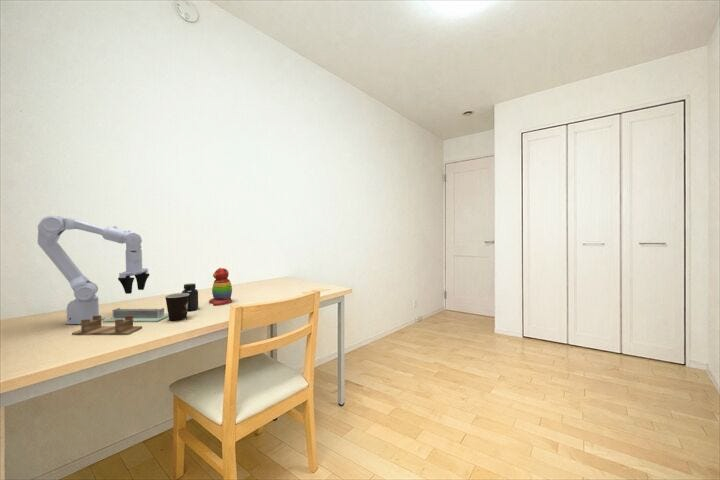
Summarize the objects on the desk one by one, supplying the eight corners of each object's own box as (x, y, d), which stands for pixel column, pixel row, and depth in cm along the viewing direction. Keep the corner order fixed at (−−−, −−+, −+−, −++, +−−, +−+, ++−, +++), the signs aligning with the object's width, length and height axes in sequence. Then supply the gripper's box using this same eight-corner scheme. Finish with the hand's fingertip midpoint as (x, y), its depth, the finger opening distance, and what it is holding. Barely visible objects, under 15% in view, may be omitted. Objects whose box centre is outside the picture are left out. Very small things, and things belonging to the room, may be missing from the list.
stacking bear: (207, 302, 156) (207, 268, 155) (228, 299, 163) (227, 266, 162) (214, 306, 148) (214, 270, 147) (235, 302, 155) (235, 268, 154)
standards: (71, 334, 109) (71, 320, 108) (89, 328, 116) (88, 314, 115) (128, 334, 109) (127, 320, 109) (142, 328, 116) (141, 314, 116)
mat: (102, 322, 123) (102, 320, 123) (121, 315, 133) (121, 313, 133) (157, 322, 123) (157, 320, 123) (172, 315, 133) (172, 313, 133)
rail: (112, 318, 126) (112, 310, 126) (118, 315, 130) (118, 308, 130) (159, 318, 127) (158, 310, 127) (164, 315, 130) (164, 308, 130)
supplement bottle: (201, 308, 143) (200, 283, 143) (186, 312, 138) (186, 286, 137) (193, 306, 147) (193, 282, 147) (178, 310, 141) (178, 284, 141)
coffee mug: (178, 322, 123) (178, 298, 123) (160, 321, 125) (160, 297, 124) (199, 314, 134) (198, 292, 134) (182, 313, 136) (182, 291, 136)
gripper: (131, 262, 125) (131, 295, 125) (154, 258, 139) (155, 288, 140) (113, 262, 125) (114, 295, 125) (138, 258, 139) (139, 288, 140)
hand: (134, 291), depth 133 cm, fingers open, 7 cm apart
